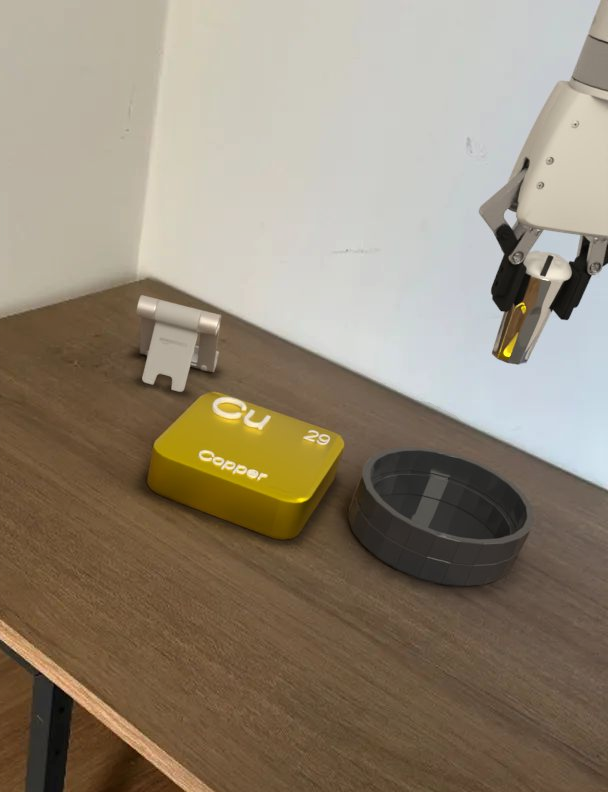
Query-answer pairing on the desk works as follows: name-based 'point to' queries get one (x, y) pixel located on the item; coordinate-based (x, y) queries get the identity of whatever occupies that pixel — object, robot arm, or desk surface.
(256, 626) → the desk surface
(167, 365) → the tablet stand
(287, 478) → the element tile
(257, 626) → the desk surface
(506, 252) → the robot arm
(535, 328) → the milkshake
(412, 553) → the pan
